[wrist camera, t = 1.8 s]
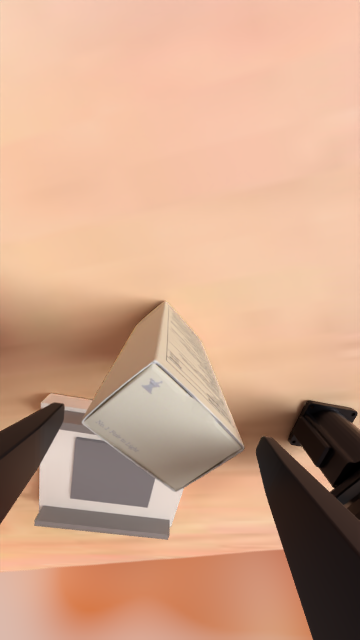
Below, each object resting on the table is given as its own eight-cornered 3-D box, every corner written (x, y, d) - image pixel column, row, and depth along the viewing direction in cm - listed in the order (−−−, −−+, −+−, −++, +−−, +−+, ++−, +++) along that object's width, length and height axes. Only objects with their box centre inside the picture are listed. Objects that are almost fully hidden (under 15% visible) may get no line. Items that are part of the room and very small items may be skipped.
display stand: (201, 418, 23) (205, 440, 20) (171, 513, 27) (170, 542, 25) (50, 393, 21) (30, 413, 18) (46, 498, 26) (30, 527, 23)
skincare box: (134, 325, 19) (69, 420, 7) (166, 297, 18) (152, 354, 7) (174, 366, 20) (172, 499, 9) (205, 342, 20) (249, 452, 8)
